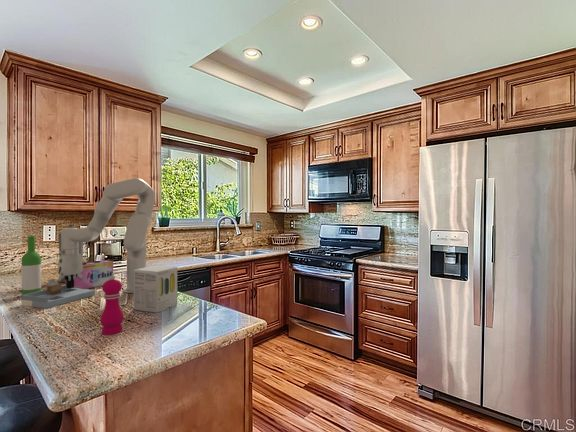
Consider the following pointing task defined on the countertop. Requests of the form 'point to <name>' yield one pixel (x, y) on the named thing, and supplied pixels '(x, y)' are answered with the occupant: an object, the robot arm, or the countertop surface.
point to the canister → (79, 248)
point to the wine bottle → (31, 269)
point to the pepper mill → (112, 307)
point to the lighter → (53, 281)
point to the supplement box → (155, 288)
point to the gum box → (94, 274)
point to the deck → (55, 297)
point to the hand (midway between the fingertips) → (70, 287)
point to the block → (54, 289)
